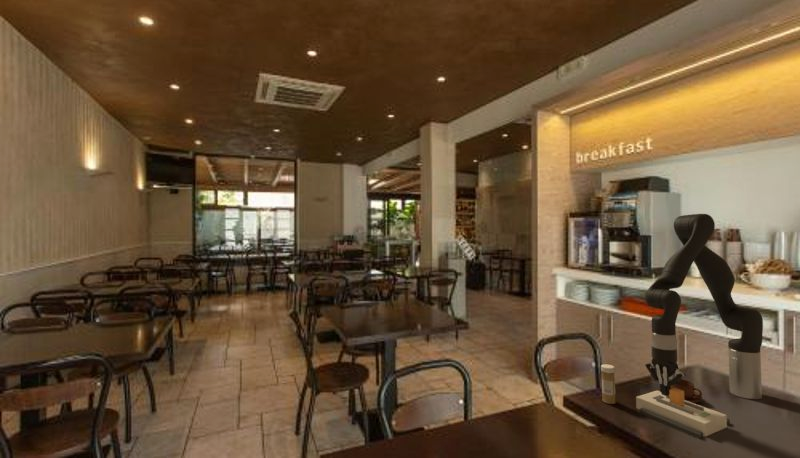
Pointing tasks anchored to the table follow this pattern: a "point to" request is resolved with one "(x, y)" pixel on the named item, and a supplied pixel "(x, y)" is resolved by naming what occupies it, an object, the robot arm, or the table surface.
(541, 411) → the table surface
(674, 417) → the slider base
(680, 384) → the cup and saucer
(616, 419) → the table surface
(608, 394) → the sprinkles bottle
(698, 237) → the robot arm
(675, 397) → the breaker toggle
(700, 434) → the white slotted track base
